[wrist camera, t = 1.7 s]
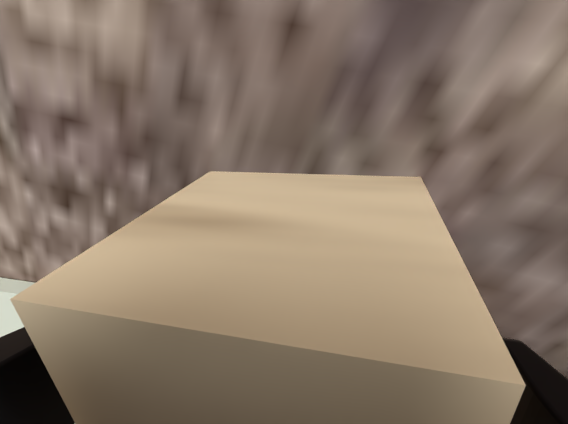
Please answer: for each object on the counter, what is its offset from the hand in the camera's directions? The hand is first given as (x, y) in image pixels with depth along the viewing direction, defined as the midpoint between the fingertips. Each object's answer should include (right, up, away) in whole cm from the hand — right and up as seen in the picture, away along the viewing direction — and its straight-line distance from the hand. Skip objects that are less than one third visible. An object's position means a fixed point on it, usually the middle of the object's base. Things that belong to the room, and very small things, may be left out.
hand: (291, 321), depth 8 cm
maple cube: (+1, +1, +2) cm, 3 cm away
